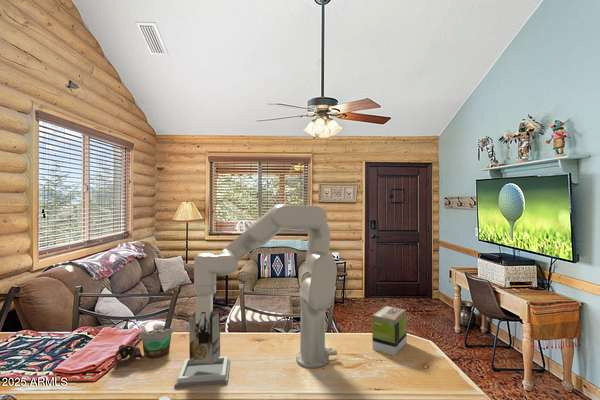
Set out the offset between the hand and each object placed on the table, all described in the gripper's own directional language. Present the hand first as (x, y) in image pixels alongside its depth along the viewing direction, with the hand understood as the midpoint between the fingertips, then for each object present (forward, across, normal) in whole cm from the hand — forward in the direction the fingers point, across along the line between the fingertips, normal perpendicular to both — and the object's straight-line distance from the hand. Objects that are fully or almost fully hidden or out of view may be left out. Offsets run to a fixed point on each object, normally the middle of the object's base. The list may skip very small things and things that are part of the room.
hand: (205, 337), depth 115 cm
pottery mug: (+13, -11, -29) cm, 34 cm away
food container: (+13, -16, -20) cm, 29 cm away
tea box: (+13, -11, +75) cm, 77 cm away
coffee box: (+8, 0, 0) cm, 8 cm away
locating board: (+13, 0, 0) cm, 13 cm away
